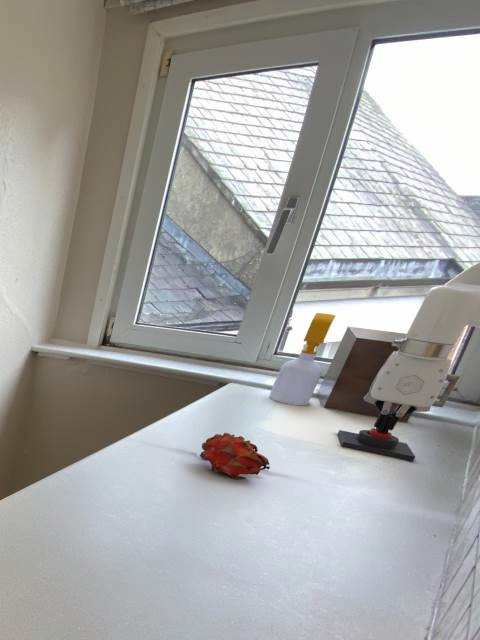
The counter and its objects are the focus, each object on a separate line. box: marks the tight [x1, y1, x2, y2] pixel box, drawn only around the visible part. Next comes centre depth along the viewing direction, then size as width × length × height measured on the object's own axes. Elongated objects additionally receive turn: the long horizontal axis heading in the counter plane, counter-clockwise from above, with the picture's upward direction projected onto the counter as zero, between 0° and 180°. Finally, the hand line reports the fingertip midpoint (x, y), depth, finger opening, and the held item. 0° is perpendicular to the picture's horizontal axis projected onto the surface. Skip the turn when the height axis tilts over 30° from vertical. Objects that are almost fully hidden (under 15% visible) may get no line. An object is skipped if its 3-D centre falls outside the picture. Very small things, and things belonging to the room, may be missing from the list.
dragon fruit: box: [199, 432, 271, 481], centre depth 107 cm, size 8×8×12 cm
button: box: [369, 428, 393, 439], centre depth 122 cm, size 4×4×2 cm
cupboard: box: [316, 326, 407, 423], centre depth 150 cm, size 16×22×20 cm
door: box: [401, 373, 461, 424], centre depth 144 cm, size 6×22×20 cm, turn 144°
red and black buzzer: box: [336, 429, 416, 463], centre depth 123 cm, size 12×10×4 cm
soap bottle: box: [268, 312, 336, 406], centre depth 149 cm, size 9×9×25 cm
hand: (381, 431), depth 122 cm, fingers closed
